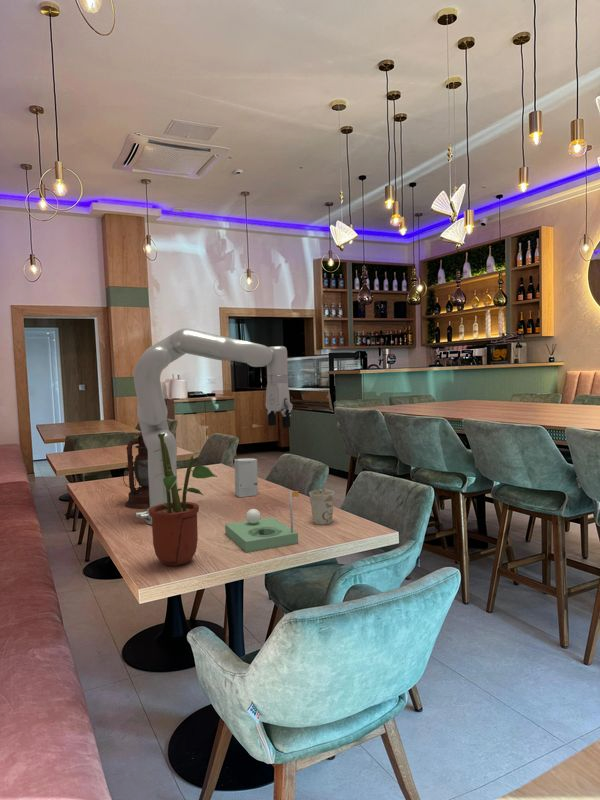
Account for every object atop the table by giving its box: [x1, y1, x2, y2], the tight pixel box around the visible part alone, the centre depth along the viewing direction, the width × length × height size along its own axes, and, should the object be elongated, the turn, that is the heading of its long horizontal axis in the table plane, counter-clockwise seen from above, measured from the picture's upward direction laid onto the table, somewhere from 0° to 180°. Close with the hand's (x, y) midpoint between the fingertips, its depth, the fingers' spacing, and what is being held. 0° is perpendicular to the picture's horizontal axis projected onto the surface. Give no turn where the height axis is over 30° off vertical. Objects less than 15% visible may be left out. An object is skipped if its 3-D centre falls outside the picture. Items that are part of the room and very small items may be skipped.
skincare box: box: [234, 457, 259, 498], centre depth 224 cm, size 8×6×15 cm
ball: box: [245, 508, 262, 524], centre depth 172 cm, size 5×5×5 cm
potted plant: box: [149, 433, 218, 567], centre depth 150 cm, size 17×16×35 cm
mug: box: [308, 489, 336, 526], centre depth 184 cm, size 8×13×10 cm, turn 27°
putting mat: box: [224, 490, 300, 553], centre depth 167 cm, size 17×20×15 cm
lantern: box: [122, 431, 150, 510], centre depth 215 cm, size 19×19×30 cm
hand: (279, 426), depth 204 cm, fingers open, 9 cm apart
